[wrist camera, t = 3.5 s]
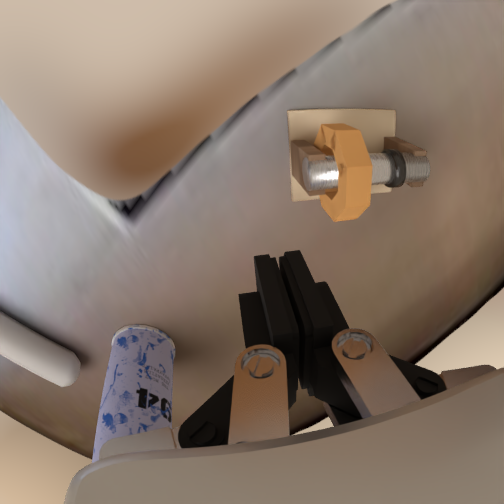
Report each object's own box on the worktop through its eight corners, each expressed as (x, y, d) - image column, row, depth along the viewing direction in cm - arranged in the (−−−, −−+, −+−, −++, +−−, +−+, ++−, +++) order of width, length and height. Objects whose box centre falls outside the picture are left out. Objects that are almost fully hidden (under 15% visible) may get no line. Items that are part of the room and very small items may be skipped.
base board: (287, 110, 24) (307, 119, 19) (392, 109, 24) (428, 120, 20) (291, 199, 28) (309, 227, 23) (388, 190, 29) (419, 213, 24)
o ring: (312, 120, 23) (347, 136, 17) (334, 119, 23) (373, 135, 17) (314, 197, 26) (344, 234, 21) (333, 195, 26) (367, 231, 21)
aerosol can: (189, 351, 36) (195, 513, 19) (146, 374, 38) (139, 518, 21) (140, 313, 32) (119, 495, 16) (99, 342, 34) (70, 498, 17)
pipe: (300, 148, 22) (313, 159, 20) (412, 144, 23) (434, 154, 20) (301, 186, 24) (313, 201, 21) (410, 178, 24) (429, 190, 22)
